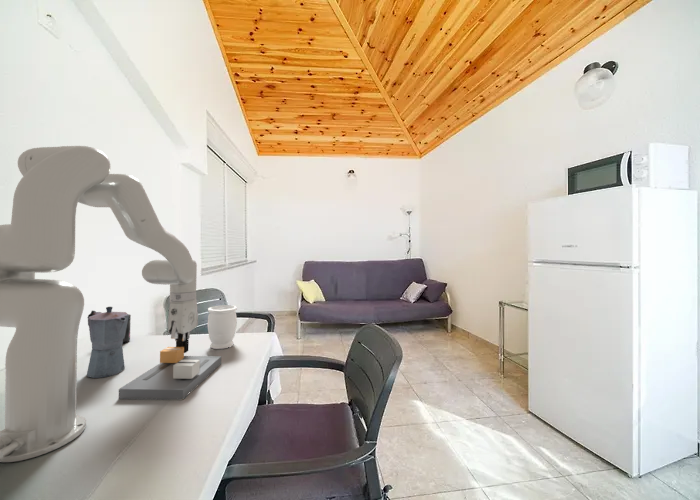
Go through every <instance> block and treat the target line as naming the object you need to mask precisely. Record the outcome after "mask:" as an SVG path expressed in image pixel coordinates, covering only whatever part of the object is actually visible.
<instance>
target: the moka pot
mask: <svg viewBox="0 0 700 500" xmlns="http://www.w3.org/2000/svg"><path fill="white" fill-rule="evenodd" d="M105 310H106V311H105V312H101V311H95V310H91V312H90V313H89V314H88V315H87V318H86V319H87V326H88V330H89V339H90V342H91V353H90V358H89V363H88V367H87V371H86V377H88V378H92V379H100V378H108V377H112V376H115V375H117V374H119V373H121V372H122V371H124V370H125V367H126V365H125V360H124V350H123V345H124V344H123V339H124V338H125V333H126V328H127V323H128V318H129V315H130V314H129V315H128V313H127V312H126V311H113V306H107V307H105Z"/></svg>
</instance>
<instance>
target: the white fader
mask: <svg viewBox="0 0 700 500" xmlns="http://www.w3.org/2000/svg"><path fill="white" fill-rule="evenodd" d="M199 370H200V360H181V361H179V362H178V363H176V364H175V365H173V378H176V379H192V378H193V377H194V376H196V375H197V374H198V373H199Z"/></svg>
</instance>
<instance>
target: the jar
mask: <svg viewBox="0 0 700 500" xmlns="http://www.w3.org/2000/svg"><path fill="white" fill-rule="evenodd" d="M237 310H238V307H237V305H233V304H230V305H229V304H223V305H222V304H221V305H215V306H210V307H208V308H207V311H208V316H207V331H208V339H209V340H210V342H211V343H210V345H209V347H210V348H211V349H214V350H223V349H228V347H229V348H231V347H233V346H234V341H233V340H234V338H235V335H236V332H237V331H236V330H237V324H238V318H237V317H238V316H237V313H236V311H237ZM232 345H233V346H232Z"/></svg>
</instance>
